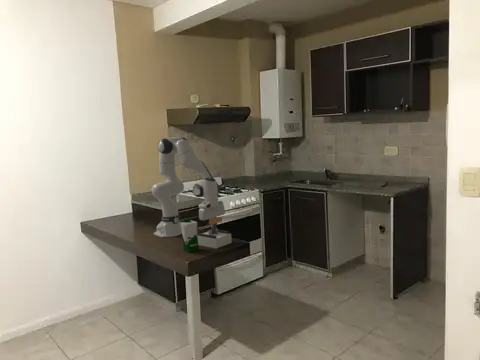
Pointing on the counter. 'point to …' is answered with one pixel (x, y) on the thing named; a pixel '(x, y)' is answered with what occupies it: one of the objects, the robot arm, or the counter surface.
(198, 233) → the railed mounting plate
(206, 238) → the box
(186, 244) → the milk carton
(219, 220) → the lever
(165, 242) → the counter surface
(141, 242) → the counter surface
